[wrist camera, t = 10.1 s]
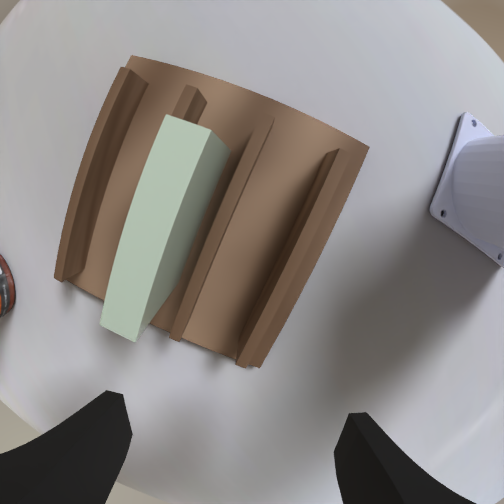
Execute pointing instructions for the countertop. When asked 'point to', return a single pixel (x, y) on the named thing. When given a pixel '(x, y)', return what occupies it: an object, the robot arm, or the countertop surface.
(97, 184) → the dish rack
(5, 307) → the supplement bottle
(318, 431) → the countertop surface
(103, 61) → the countertop surface
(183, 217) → the pale green flat block
